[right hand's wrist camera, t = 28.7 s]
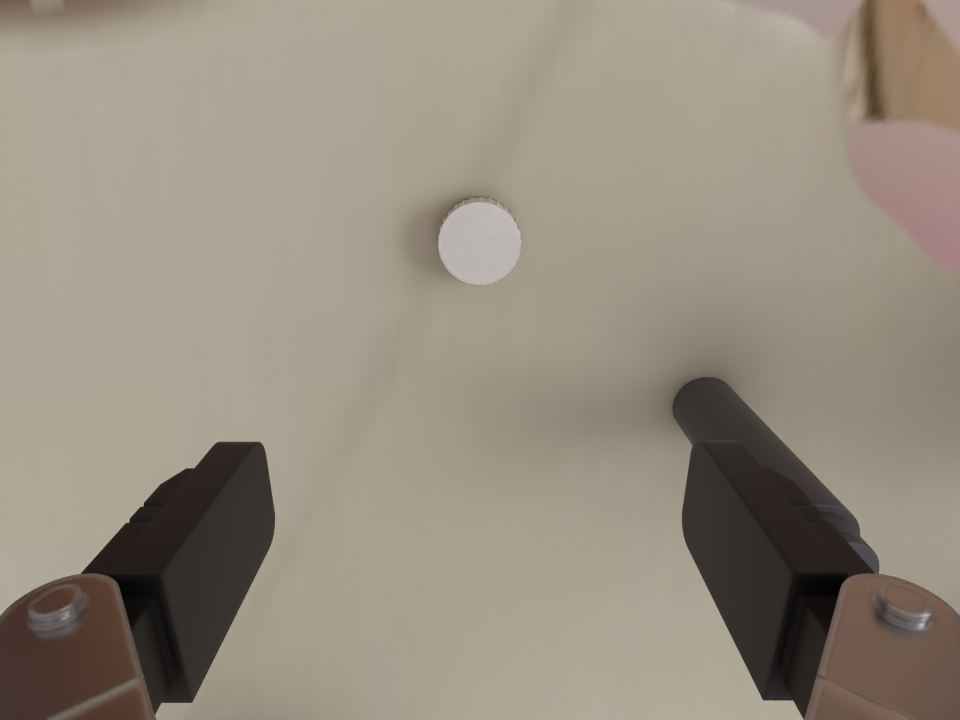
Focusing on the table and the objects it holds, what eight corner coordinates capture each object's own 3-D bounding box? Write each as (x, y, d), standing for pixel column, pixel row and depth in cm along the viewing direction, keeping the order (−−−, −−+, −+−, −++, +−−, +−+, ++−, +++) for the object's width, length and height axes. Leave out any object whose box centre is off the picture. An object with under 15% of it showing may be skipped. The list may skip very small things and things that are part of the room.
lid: (536, 241, 36) (539, 249, 34) (475, 293, 38) (474, 303, 36) (483, 178, 35) (484, 181, 33) (422, 233, 36) (418, 240, 34)
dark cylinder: (660, 404, 40) (770, 573, 25) (710, 365, 39) (857, 516, 24) (696, 443, 42) (823, 627, 26) (746, 406, 41) (908, 576, 25)
